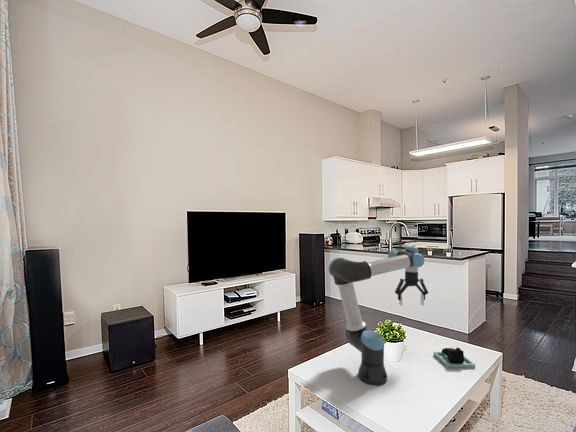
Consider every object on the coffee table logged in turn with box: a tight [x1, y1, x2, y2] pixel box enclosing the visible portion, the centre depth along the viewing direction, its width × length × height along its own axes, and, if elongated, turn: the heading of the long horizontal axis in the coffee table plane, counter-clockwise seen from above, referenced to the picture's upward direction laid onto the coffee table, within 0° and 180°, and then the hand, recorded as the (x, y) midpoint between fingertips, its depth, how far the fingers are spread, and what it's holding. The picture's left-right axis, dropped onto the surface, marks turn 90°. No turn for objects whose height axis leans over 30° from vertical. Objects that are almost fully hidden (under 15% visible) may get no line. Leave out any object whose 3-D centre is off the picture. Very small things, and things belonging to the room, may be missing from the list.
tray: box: [433, 351, 476, 369], centre depth 180 cm, size 16×16×2 cm
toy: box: [441, 347, 465, 364], centre depth 182 cm, size 9×8×15 cm
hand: (411, 305), depth 187 cm, fingers open, 13 cm apart
